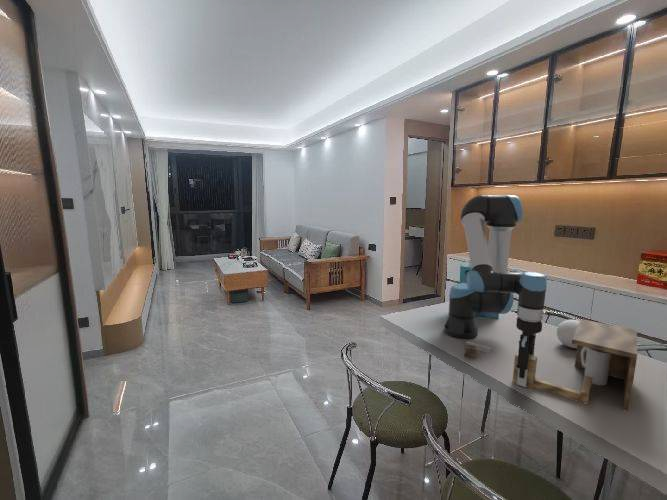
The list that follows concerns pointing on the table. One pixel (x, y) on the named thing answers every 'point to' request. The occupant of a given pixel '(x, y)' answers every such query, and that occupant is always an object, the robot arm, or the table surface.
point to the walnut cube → (470, 351)
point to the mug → (596, 365)
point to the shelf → (610, 350)
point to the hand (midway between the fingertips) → (523, 381)
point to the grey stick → (479, 346)
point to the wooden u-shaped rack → (550, 387)
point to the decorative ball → (567, 332)
